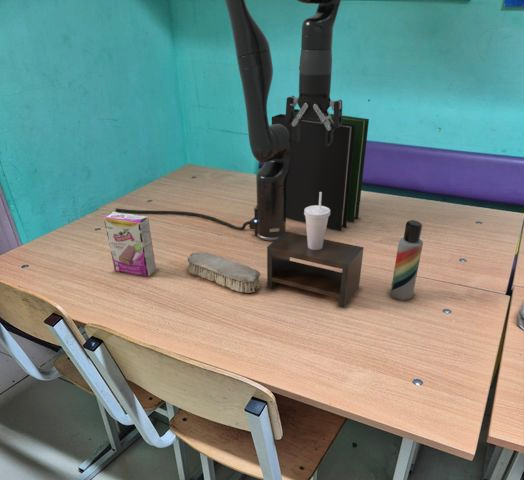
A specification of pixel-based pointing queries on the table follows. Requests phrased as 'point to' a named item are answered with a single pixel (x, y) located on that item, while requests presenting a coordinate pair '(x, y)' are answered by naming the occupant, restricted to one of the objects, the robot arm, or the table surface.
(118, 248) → the candy bar box
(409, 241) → the lotion bottle
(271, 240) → the robot arm
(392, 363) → the table surface
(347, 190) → the binder
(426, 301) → the table surface
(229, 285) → the shoe brush
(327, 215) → the smoothie
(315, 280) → the box
